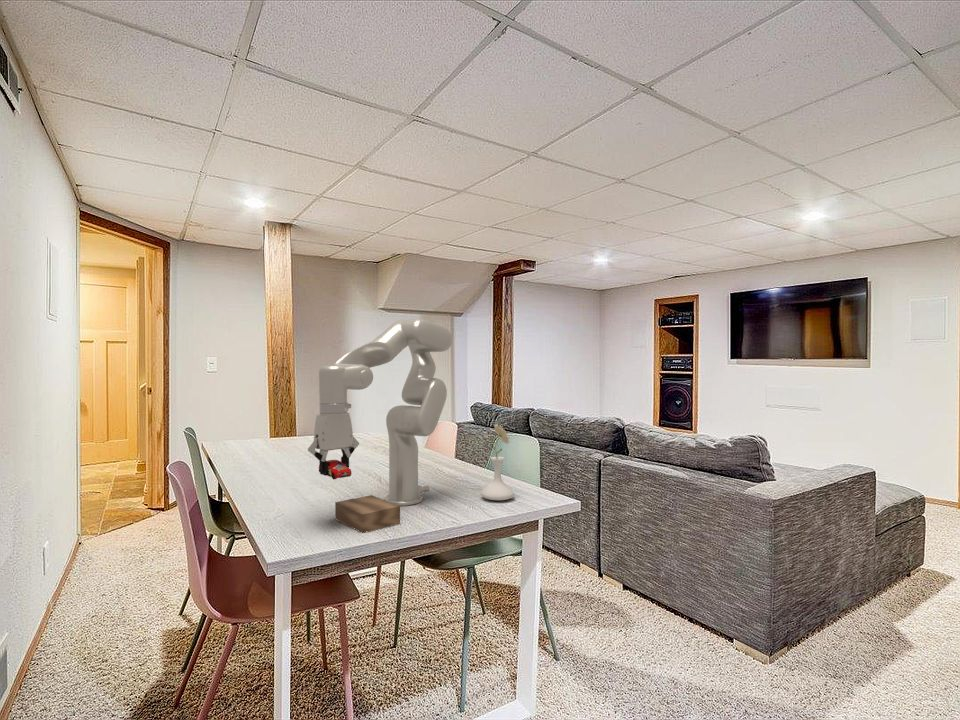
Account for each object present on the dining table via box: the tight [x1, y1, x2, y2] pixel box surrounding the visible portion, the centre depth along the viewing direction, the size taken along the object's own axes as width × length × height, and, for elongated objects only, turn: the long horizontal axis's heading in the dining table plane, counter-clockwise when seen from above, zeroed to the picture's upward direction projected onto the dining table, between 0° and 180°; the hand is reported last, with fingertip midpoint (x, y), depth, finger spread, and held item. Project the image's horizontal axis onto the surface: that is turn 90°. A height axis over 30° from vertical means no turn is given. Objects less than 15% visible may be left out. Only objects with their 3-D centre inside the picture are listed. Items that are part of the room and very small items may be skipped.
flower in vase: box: [480, 423, 515, 501], centre depth 173 cm, size 13×11×25 cm
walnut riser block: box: [334, 494, 401, 534], centre depth 147 cm, size 12×16×5 cm
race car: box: [318, 459, 352, 481], centre depth 144 cm, size 13×5×4 cm, turn 40°
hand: (334, 472), depth 145 cm, fingers closed on race car, 5 cm apart
